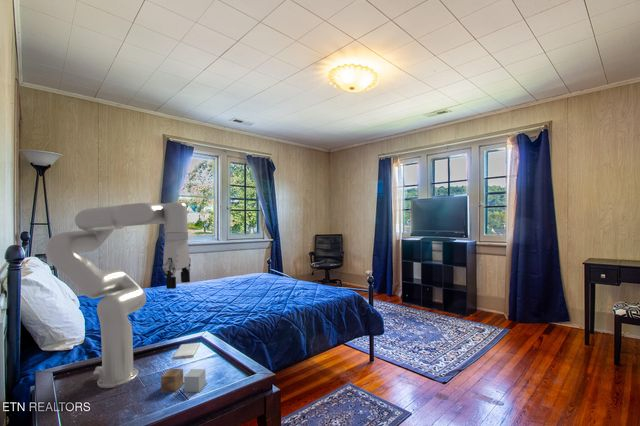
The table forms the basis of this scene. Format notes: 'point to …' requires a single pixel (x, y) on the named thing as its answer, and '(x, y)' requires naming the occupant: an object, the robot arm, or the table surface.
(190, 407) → the table surface
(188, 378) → the light grey cube
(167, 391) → the board
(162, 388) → the walnut block
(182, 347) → the hard drive
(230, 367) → the table surface
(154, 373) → the table surface
